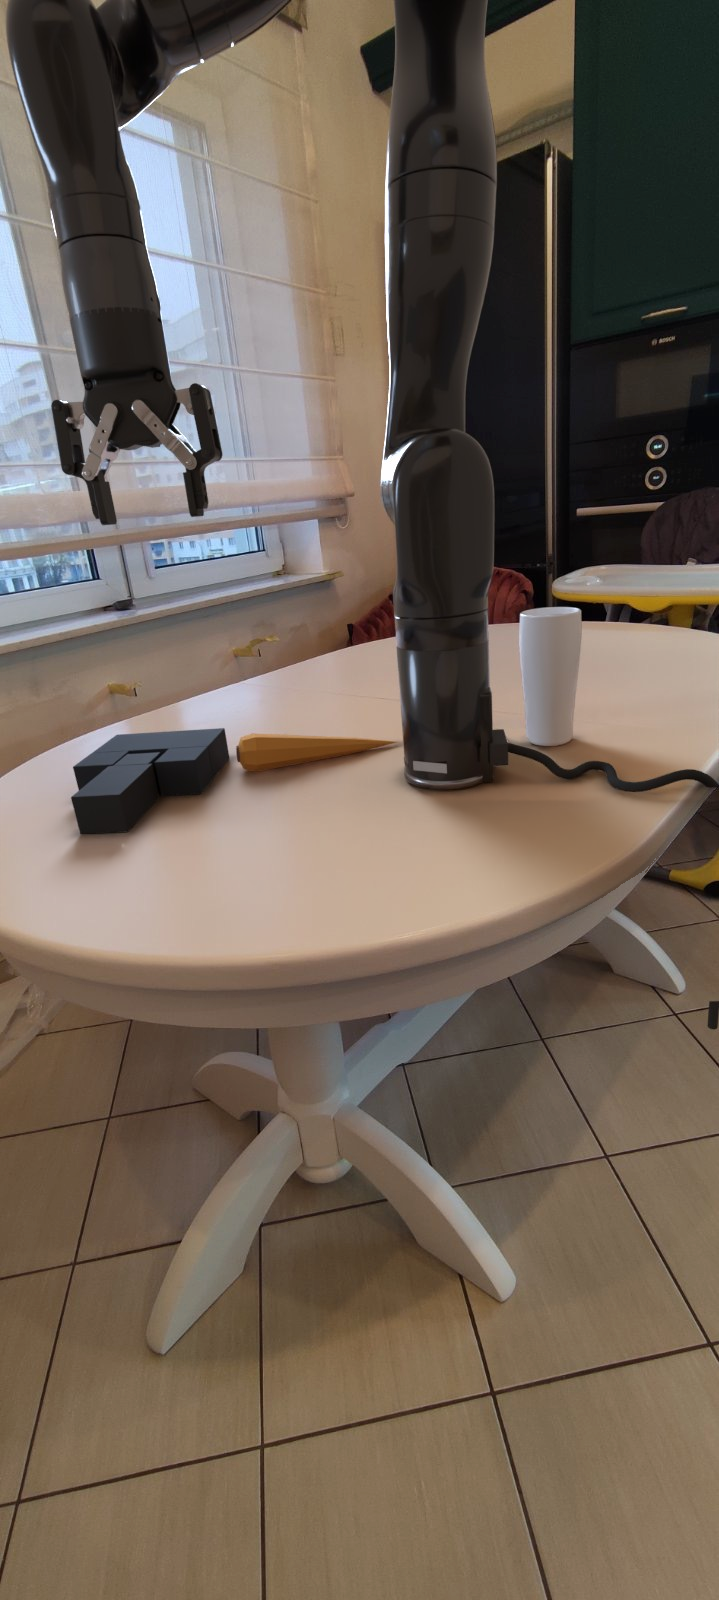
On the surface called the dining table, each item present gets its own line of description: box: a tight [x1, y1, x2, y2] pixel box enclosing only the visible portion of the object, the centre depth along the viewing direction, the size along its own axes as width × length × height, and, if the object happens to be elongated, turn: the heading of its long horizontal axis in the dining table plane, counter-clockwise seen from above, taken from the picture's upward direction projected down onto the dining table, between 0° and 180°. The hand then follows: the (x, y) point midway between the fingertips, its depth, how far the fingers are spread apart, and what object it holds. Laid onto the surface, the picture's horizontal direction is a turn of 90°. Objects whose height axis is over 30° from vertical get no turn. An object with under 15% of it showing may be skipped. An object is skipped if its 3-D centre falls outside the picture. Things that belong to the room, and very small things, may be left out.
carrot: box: [235, 733, 398, 773], centre depth 87 cm, size 20×4×4 cm, turn 106°
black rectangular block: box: [70, 752, 161, 835], centre depth 77 cm, size 5×13×4 cm, turn 175°
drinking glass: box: [518, 606, 583, 747], centre depth 83 cm, size 7×7×15 cm
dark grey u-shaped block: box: [72, 727, 230, 797], centre depth 85 cm, size 14×12×4 cm
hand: (153, 520), depth 67 cm, fingers open, 8 cm apart
